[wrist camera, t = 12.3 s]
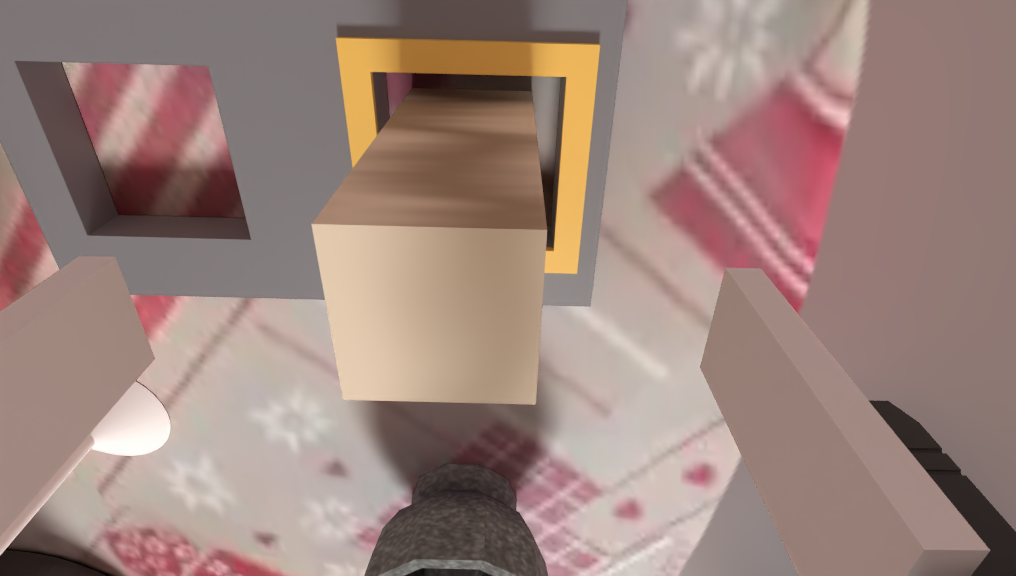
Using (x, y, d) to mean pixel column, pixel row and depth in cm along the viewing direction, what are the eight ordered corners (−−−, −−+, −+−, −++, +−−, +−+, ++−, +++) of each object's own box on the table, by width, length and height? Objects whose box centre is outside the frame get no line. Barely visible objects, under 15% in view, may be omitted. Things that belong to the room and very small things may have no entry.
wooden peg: (419, 200, 23) (343, 399, 13) (411, 88, 21) (311, 224, 11) (527, 202, 23) (535, 404, 13) (531, 91, 21) (547, 229, 11)
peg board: (100, 269, 25) (65, 296, 23) (-29, -37, 19) (-92, -36, 17) (585, 282, 25) (591, 310, 23) (619, -21, 19) (631, -17, 17)
